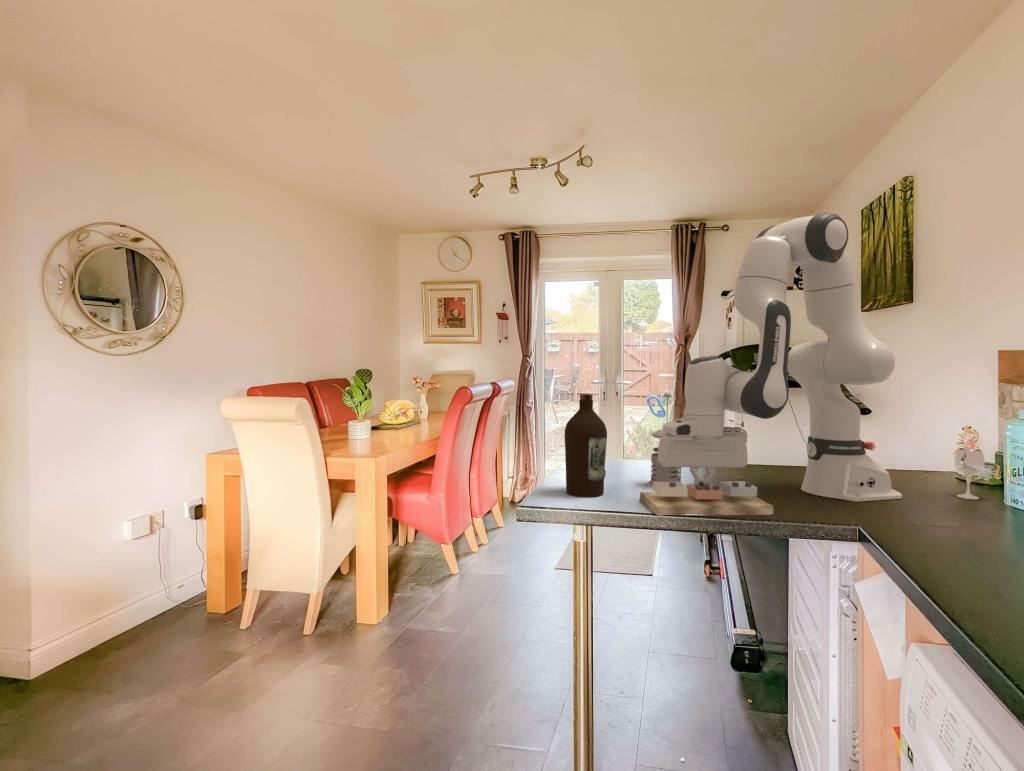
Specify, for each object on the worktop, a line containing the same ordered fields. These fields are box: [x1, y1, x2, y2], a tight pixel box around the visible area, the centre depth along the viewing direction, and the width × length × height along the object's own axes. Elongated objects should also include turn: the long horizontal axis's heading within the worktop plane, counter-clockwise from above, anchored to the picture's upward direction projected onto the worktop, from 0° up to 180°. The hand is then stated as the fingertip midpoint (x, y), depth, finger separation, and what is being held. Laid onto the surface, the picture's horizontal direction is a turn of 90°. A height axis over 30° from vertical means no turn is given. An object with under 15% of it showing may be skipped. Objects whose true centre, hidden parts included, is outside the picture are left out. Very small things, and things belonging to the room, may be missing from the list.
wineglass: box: [954, 447, 986, 500], centre depth 139 cm, size 6×6×12 cm
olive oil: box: [564, 393, 608, 498], centre depth 140 cm, size 11×11×25 cm
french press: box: [647, 392, 683, 488], centre depth 150 cm, size 10×12×25 cm
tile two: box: [719, 480, 758, 497], centre depth 128 cm, size 6×6×3 cm
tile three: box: [685, 483, 723, 499], centre depth 128 cm, size 6×6×3 cm
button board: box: [639, 491, 774, 517], centre depth 128 cm, size 26×13×2 cm, turn 93°
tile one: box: [652, 482, 688, 497], centre depth 127 cm, size 6×6×3 cm
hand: (701, 486), depth 129 cm, fingers closed
